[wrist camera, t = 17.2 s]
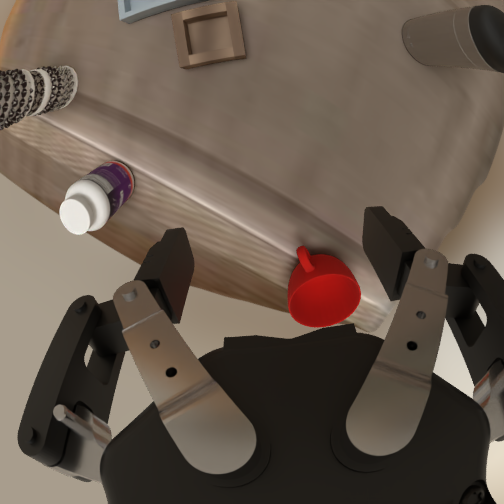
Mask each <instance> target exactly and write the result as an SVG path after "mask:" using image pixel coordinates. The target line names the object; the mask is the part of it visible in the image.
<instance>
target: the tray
mask: <svg viewBox="0 0 504 504" xmlns="http://www.w3.org/2000/svg"><path fill="white" fill-rule="evenodd" d="M203 1H208V0H118V8H119V18H120V20H121V21H123V22H126V23H128V24H130V23H133V22H135V21H138V20H140V19H143V18H146V17H149V16H152V15H155V14H158V13H161V12H164V11H168V10H171V9H175V8H178V7H182V6H186V5H190V4H194V3H198V2H203Z"/></svg>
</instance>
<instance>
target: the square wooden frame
mask: <svg viewBox="0 0 504 504" xmlns="http://www.w3.org/2000/svg"><path fill="white" fill-rule="evenodd" d="M171 17H172V24H173V30H174V37H175V43H176V49H177V55H178V61H179V67H180V68H183V69H190V68H194V67H199V66H203V65H208V64H213V63H219V62H225V61H231V60H237V59H244V58H246V54H245V47H244V41H243V35H242V29H241V23H240V18H239V12H238V6H237V2H236V1H231V2H224V3H218V4H213V5H208V6H203V7H198V8H194V9H190V10H186V11H182V12H178V13H175V14H171Z"/></svg>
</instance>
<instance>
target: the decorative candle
mask: <svg viewBox="0 0 504 504" xmlns="http://www.w3.org/2000/svg"><path fill="white" fill-rule="evenodd" d="M7 74H8V75H7ZM0 76H1V77H0V130H2V129H3V128H4V127H5V128H8V127H9V126H10V125H12V124H14V123H18V122H19V121H21V120H22V119H24V118H25V117H26V116H36V115H37V114H38V115H41V114H42V113H43V112H44V113H47V112H53V111H54V110H59V109H62V108H64V107H66V106H68V105H69V103H70V102H71V101H72V100H73V99H74V96H75V94H76V92H77V87H78V78H77V74H76V72H75V71H74V69H73V68H71V67H69V66H59V68H57V66H54V67H53V68H51V66H48V67H47V68H46V67H41V68H37V69H36V70H30V71H27V70H25V69H22V70H18V69H15V70H11V71H10V70H7V71H6V72H5V71H1V70H0ZM1 124H2V125H1Z"/></svg>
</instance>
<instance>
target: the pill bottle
mask: <svg viewBox="0 0 504 504" xmlns="http://www.w3.org/2000/svg"><path fill="white" fill-rule="evenodd" d="M133 189H134V179H133V175H132V173H131V171H130V170H129V168H128V167H127V166H125V165H124V164H122V163H120V162H118V161H109V162H106V163H104V164H102V165H101V166H99V167H98V168H96V169H95V170H93V171H92V172H90V173H89V174H87V175H86V176H84V177H83V178H81V179H80V180H78V181H77V182H75V183H74V184H73V185H72V186H71V187H70V188H69V189H68V191H67V193H66V197H65V201H64V202H63V203H62V204H61V207H60V218H61V221H62V223H63V225H64V226H65V227H66V228H67V229H68V230H69V231H70V232H71V233H74V234H77V235H81V234H84V233H86V232H87V231H94V230H98V229H99V228H101V227H102V226H103V225H104V224H105V223H106V222H107V221H108V220H109V219H110V218H111V217H112V215H113V214H114V213H115V212H116V211H117V210H118V209H119V208H120V207H121V206H122V205H123V204H124V203H125V202H126V201H127V200H128V198H129V197H130V196H131V194H132V192H133Z"/></svg>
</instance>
